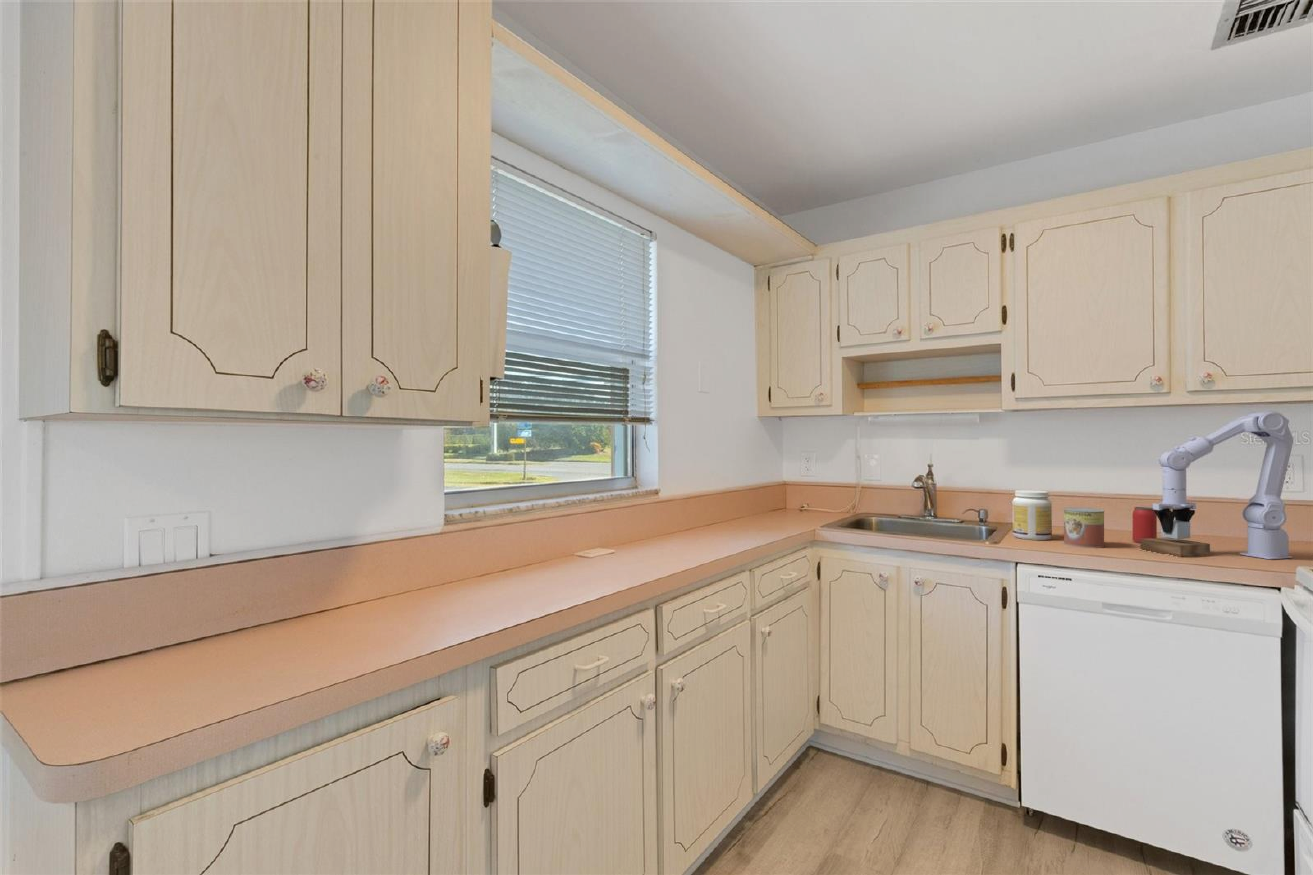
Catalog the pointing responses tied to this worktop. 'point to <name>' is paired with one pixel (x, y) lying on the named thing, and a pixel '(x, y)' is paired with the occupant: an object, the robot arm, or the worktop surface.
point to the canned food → (1084, 527)
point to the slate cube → (1178, 530)
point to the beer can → (1144, 523)
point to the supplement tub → (1032, 515)
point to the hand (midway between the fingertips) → (1174, 532)
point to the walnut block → (1175, 547)
